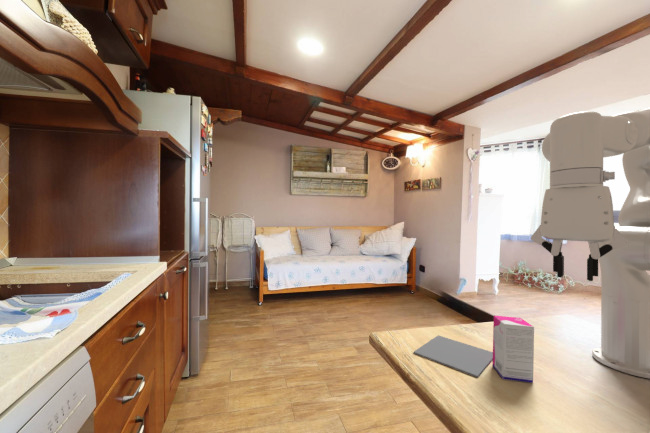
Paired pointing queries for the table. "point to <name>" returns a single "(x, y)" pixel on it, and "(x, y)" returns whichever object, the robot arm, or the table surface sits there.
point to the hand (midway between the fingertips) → (574, 277)
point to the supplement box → (513, 348)
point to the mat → (456, 355)
